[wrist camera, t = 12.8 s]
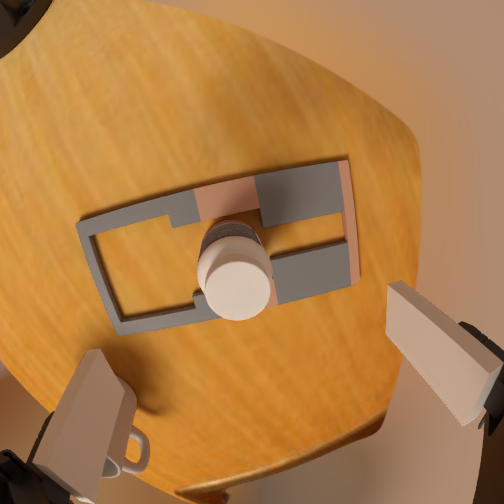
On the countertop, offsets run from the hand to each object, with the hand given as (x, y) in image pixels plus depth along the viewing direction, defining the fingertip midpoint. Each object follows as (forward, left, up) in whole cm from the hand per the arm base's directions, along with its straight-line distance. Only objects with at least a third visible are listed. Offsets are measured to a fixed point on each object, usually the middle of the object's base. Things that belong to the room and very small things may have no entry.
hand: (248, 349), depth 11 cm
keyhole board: (0, -1, -15) cm, 15 cm away
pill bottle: (0, 0, -15) cm, 15 cm away
